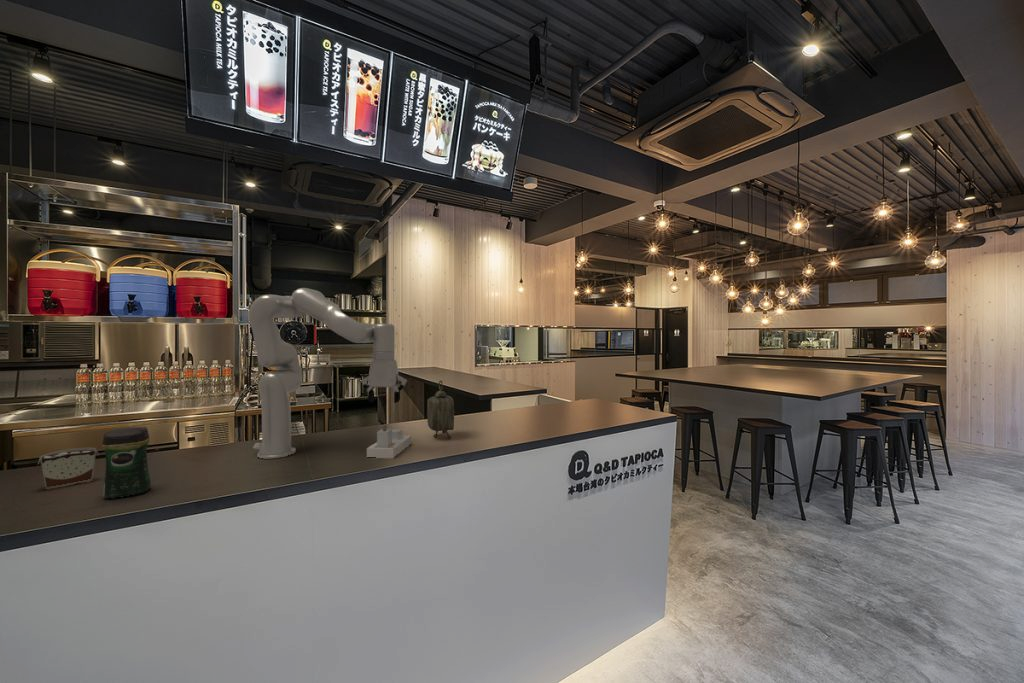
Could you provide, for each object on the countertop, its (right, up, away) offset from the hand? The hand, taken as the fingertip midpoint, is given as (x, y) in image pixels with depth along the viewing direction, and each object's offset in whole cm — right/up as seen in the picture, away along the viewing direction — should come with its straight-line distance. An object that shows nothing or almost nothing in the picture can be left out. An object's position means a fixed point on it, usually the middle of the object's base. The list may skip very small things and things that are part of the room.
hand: (384, 402), depth 153 cm
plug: (0, -19, 0) cm, 19 cm away
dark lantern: (+16, -20, +26) cm, 37 cm away
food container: (-86, -21, -29) cm, 94 cm away
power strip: (+1, -20, +6) cm, 21 cm away
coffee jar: (-61, -21, -37) cm, 75 cm away
